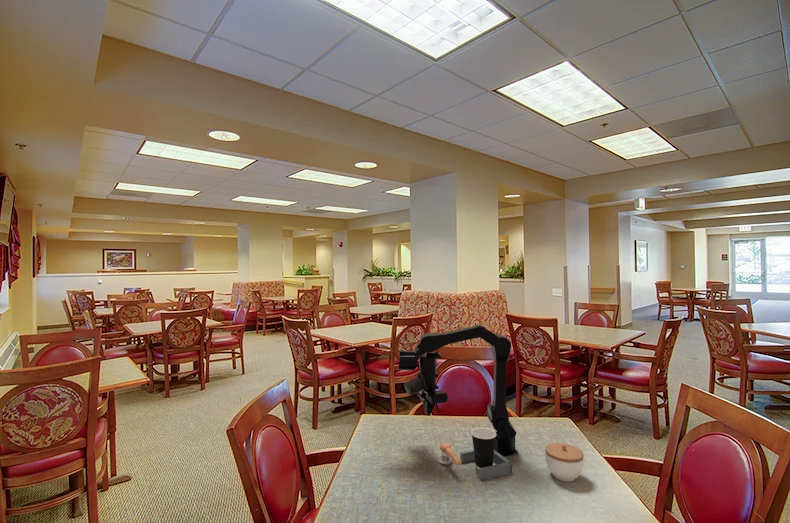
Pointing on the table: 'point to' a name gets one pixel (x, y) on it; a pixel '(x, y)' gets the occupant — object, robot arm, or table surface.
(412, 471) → the table surface
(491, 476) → the holder
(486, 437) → the dixie cup
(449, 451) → the lever
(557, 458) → the lidded jar
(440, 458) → the post
